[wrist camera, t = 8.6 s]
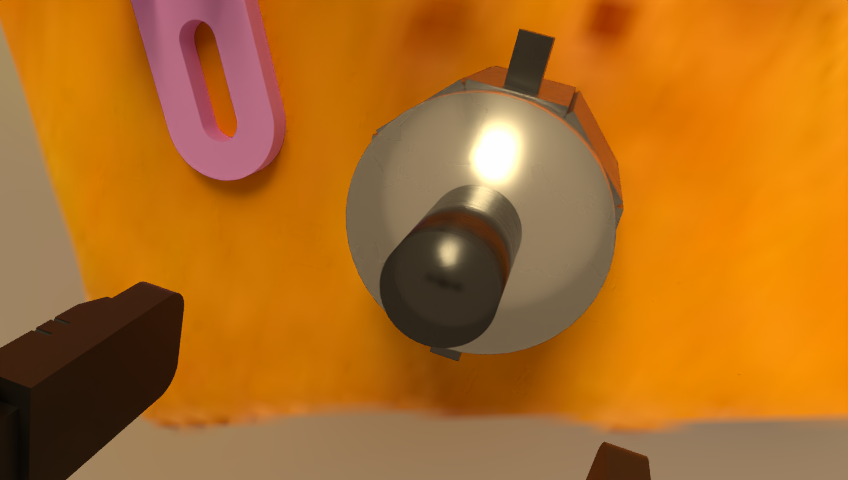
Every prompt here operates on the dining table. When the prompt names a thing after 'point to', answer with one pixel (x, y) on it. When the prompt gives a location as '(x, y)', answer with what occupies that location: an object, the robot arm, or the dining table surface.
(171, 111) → the bracket
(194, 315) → the dining table surface
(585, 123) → the pot
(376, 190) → the lid
